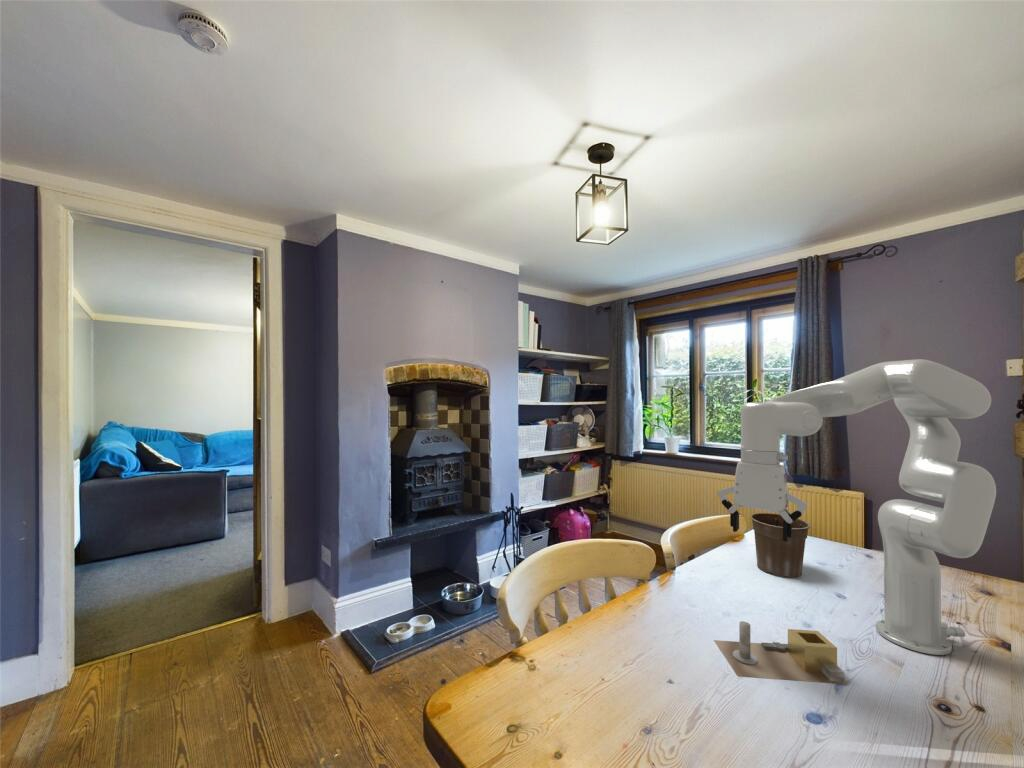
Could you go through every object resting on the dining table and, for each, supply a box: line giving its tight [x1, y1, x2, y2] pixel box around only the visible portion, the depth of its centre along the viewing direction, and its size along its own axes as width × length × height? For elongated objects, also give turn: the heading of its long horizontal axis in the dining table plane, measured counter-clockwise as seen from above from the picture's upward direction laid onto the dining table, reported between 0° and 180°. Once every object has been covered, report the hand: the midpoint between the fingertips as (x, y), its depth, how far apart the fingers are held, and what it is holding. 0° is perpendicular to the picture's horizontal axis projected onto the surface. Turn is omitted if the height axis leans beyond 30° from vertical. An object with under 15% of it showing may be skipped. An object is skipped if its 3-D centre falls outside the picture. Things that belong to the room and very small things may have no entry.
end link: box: [787, 628, 838, 673], centre depth 86 cm, size 6×6×5 cm
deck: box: [713, 620, 848, 685], centre depth 86 cm, size 20×12×8 cm, turn 85°
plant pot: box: [749, 512, 811, 579], centre depth 135 cm, size 16×16×16 cm
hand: (760, 535), depth 93 cm, fingers open, 9 cm apart
